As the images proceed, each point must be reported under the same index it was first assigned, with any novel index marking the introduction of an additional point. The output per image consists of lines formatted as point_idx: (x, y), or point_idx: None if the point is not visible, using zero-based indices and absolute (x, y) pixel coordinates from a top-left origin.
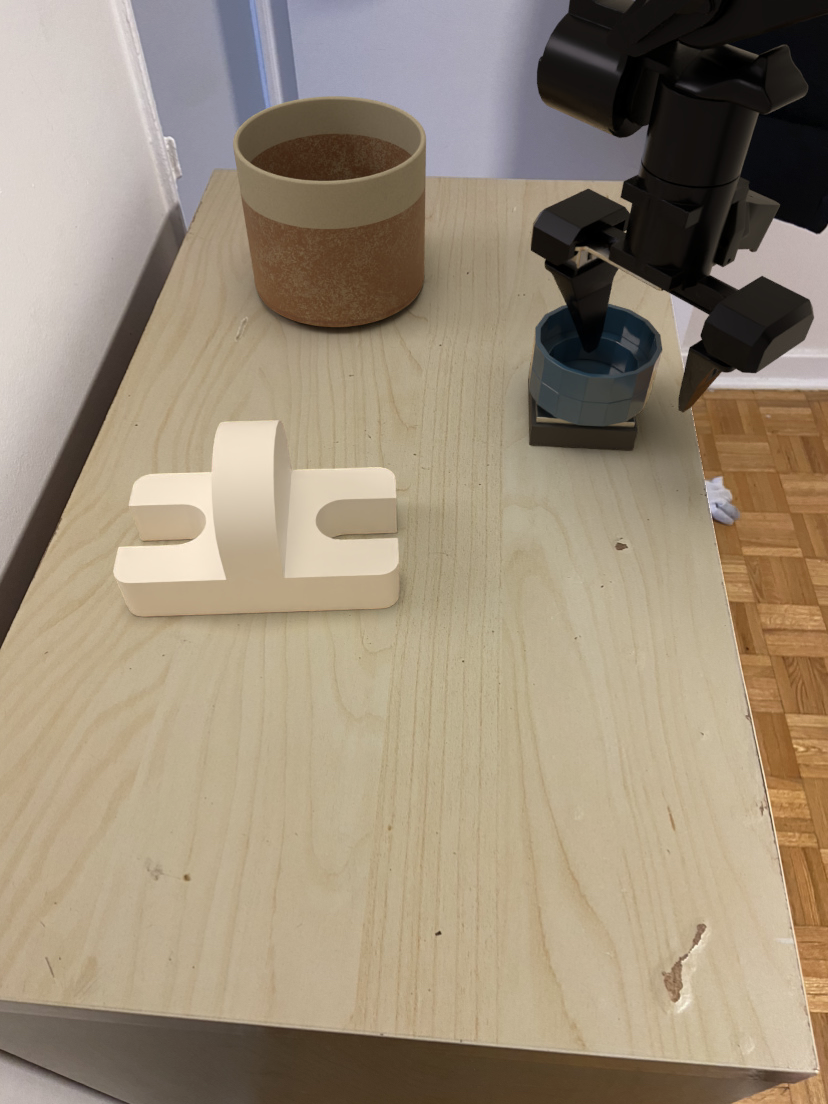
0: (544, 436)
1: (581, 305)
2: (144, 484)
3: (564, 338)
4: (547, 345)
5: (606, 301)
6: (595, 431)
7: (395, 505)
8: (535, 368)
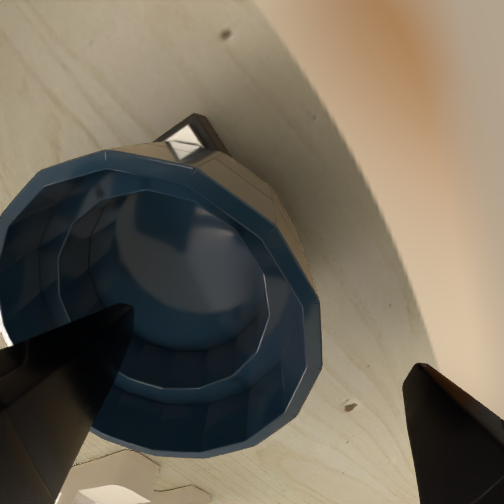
0: None
1: (60, 477)
2: None
3: (55, 261)
4: (52, 303)
5: (56, 385)
6: None
7: (152, 494)
8: None
